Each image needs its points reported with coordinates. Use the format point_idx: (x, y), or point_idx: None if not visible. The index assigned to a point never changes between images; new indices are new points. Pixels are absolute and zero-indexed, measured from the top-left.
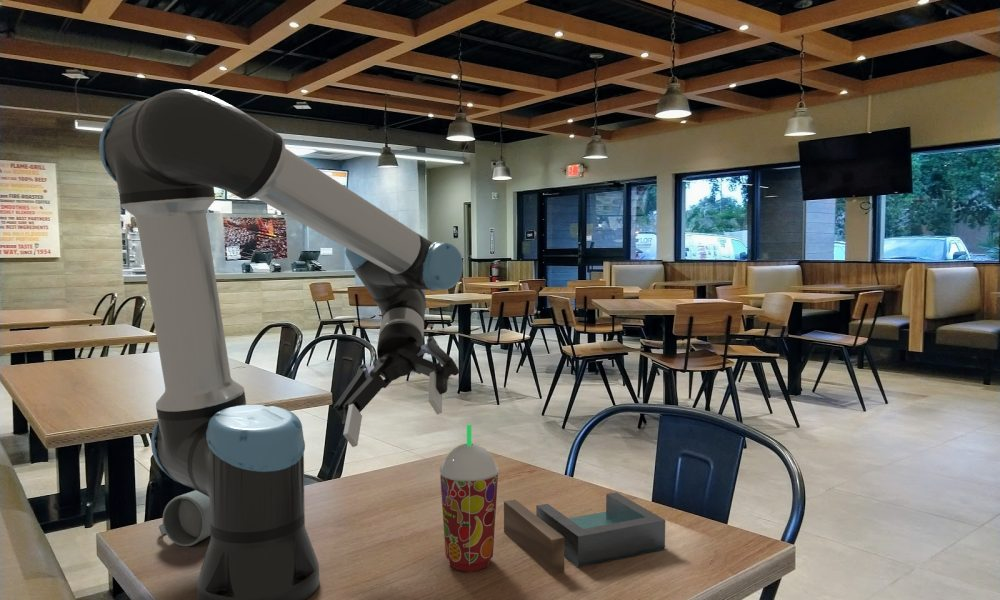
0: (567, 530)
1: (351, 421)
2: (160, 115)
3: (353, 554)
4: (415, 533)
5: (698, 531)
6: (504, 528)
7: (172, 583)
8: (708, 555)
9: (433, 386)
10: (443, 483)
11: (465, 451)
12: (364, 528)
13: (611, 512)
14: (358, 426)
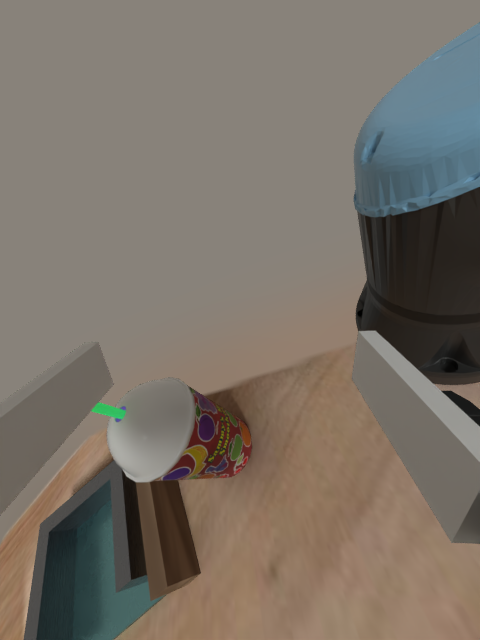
0: (124, 477)
1: (388, 373)
2: None
3: (385, 440)
4: (331, 556)
5: (23, 588)
6: (196, 571)
7: None
8: (53, 509)
9: (35, 379)
10: (197, 395)
11: (133, 391)
12: (460, 586)
13: (61, 629)
14: (391, 430)
